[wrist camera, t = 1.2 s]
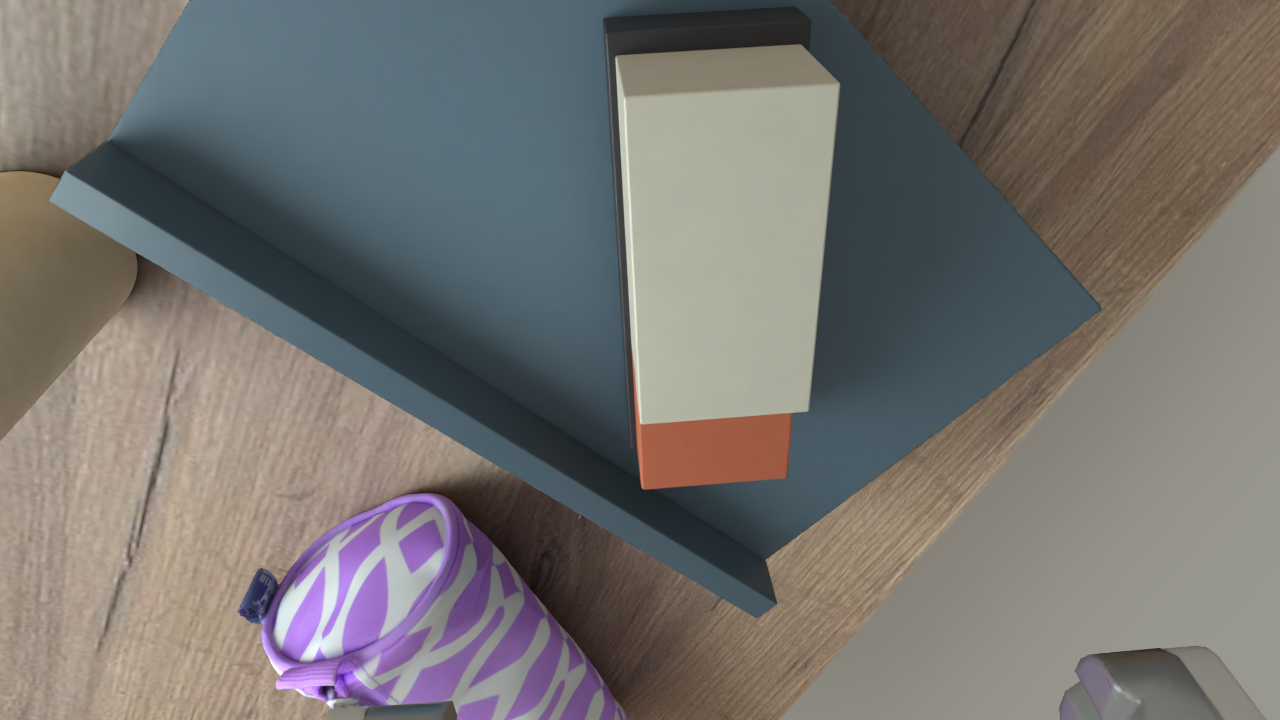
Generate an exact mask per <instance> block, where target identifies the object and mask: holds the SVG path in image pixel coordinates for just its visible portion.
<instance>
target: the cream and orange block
mask: <svg viewBox="0 0 1280 720" xmlns="http://www.w3.org/2000/svg"><path fill="white" fill-rule="evenodd" d="M810 35H811V19H809V18H808V17H807V16H806V15H805V14H804V13H803V12H801V11H800V10H799V9H798V8H797V7H778V8H761V9H744V10H727V11H710V12H693V13H676V14H659V15H643V16H626V17H609V18H604V19H603V36H604V52H605V68H606V83H607V99H608V115H609V131H610V147H611V163H612V179H613V195H614V210H615V226H616V242H617V258H618V274H619V290H620V306H621V322H622V337H623V353H624V369H625V385H626V401H627V417H628V428H629V438H630V447H631V449H637V451H638V461H639V470H640V479H641V487H642V489H644V490H646V489H658V488H670V487H683V486H695V485H708V484H720V483H732V482H745V481H757V480H769V479H782V478H787V476H788V466H789V453H790V441H791V429H792V417H793V413H796V412H807V411H809V406H810V396H811V386H812V375H813V365H814V354H815V344H816V334H817V323H818V313H819V302H820V292H821V282H822V271H823V261H824V250H825V240H826V230H827V219H828V209H829V198H830V188H831V178H832V167H833V157H834V146H835V136H836V126H837V115H838V105H839V94H840V83H839V82H838V81H837V80H836V79H835V78H834V77H833V76H832V75H831V74H830V73H829V72H828V71H827V70H826V69H825V68H824V67H823V66H822V65H821V64H820V63H819V62H818V61H817V60H816V59H815V58H814V57H813V56H812V55H811V54H810V53H809V49H810Z"/></svg>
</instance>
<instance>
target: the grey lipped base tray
mask: <svg viewBox="0 0 1280 720" xmlns="http://www.w3.org/2000/svg"><path fill="white" fill-rule="evenodd" d="M778 7H797V8H798V9H799V10H800V11H801V12H803V13H804V14H805V15H806V16H807V17H808V18H809V19H811V35H810V49H809V53H810V54H811V55H812V56H813V57H814V58H815V59H816V60H817V61H818V62H819V63H820V64H821V65H822V66H823V67H824V68H825V69H826V70H827V71H828V72H829V73H830V74H831V75H832V76H833V77H834V78H835V79H836V80H837V81H838V82H839V83H840V94H839V105H838V115H837V126H836V136H835V146H834V157H833V167H832V178H831V188H830V198H829V209H828V219H827V230H826V240H825V250H824V261H823V271H822V282H821V292H820V302H819V313H818V323H817V334H816V344H815V354H814V365H813V375H812V386H811V396H810V406H809V411H807V412H796V413H793V417H792V429H791V441H790V453H789V466H788V476H787V478H782V479H769V480H757V481H745V482H732V483H720V484H708V485H695V486H683V487H670V488H658V489H646V490H644V489H642V487H641V479H640V470H639V461H638V451H637V449H631V447H630V438H629V428H628V417H627V401H626V385H625V369H624V353H623V337H622V322H621V306H620V290H619V274H618V258H617V242H616V226H615V210H614V195H613V179H612V163H611V147H610V131H609V115H608V99H607V83H606V68H605V52H604V36H603V19H604V18H609V17H626V16H643V15H659V14H676V13H693V12H710V11H727V10H744V9H761V8H778ZM49 201H50V202H51V203H53V204H55V205H56V206H58V207H60V208H61V209H63V210H65V211H66V212H68V213H70V214H72V215H73V216H75V217H77V218H78V219H80V220H82V221H83V222H85V223H87V224H89V225H90V226H92V227H94V228H95V229H97V230H99V231H100V232H102V233H104V234H106V235H107V236H109V237H111V238H112V239H114V240H116V241H117V242H119V243H121V244H122V245H124V246H126V247H128V248H129V249H131V250H133V251H134V252H136V253H138V254H139V255H141V256H143V257H145V258H146V259H148V260H150V261H151V262H153V263H155V264H156V265H158V266H160V267H161V268H163V269H165V270H167V271H168V272H170V273H172V274H173V275H175V276H177V277H178V278H180V279H182V280H184V281H185V282H187V283H189V284H190V285H192V286H194V287H195V288H197V289H199V290H201V291H202V292H204V293H206V294H207V295H209V296H211V297H212V298H214V299H216V300H217V301H219V302H221V303H223V304H224V305H226V306H228V307H229V308H231V309H233V310H234V311H236V312H238V313H240V314H241V315H243V316H245V317H246V318H248V319H250V320H251V321H253V322H255V323H257V324H258V325H260V326H262V327H263V328H265V329H267V330H268V331H270V332H272V333H273V334H275V335H277V336H279V337H280V338H282V339H284V340H285V341H287V342H289V343H290V344H292V345H294V346H296V347H297V348H299V349H301V350H302V351H304V352H306V353H307V354H309V355H311V356H312V357H314V358H316V359H318V360H319V361H321V362H323V363H324V364H326V365H328V366H329V367H331V368H333V369H335V370H336V371H338V372H340V373H341V374H343V375H345V376H346V377H348V378H350V379H352V380H353V381H355V382H357V383H358V384H360V385H362V386H363V387H365V388H367V389H368V390H370V391H372V392H374V393H375V394H377V395H379V396H380V397H382V398H384V399H385V400H387V401H389V402H391V403H392V404H394V405H396V406H397V407H399V408H401V409H402V410H404V411H406V412H407V413H409V414H411V415H413V416H414V417H416V418H418V419H419V420H421V421H423V422H424V423H426V424H428V425H430V426H431V427H433V428H435V429H436V430H438V431H440V432H441V433H443V434H445V435H447V436H448V437H450V438H452V439H453V440H455V441H457V442H458V443H460V444H462V445H463V446H465V447H467V448H469V449H470V450H472V451H474V452H475V453H477V454H479V455H480V456H482V457H484V458H486V459H487V460H489V461H491V462H492V463H494V464H496V465H497V466H499V467H501V468H502V469H504V470H506V471H508V472H509V473H511V474H513V475H514V476H516V477H518V478H519V479H521V480H523V481H525V482H526V483H528V484H530V485H531V486H533V487H535V488H536V489H538V490H540V491H542V492H543V493H545V494H547V495H548V496H550V497H552V498H553V499H555V500H557V501H558V502H560V503H562V504H564V505H565V506H567V507H569V508H570V509H572V510H574V511H575V512H577V513H579V514H581V515H582V516H584V517H586V518H587V519H589V520H591V521H592V522H594V523H596V524H597V525H599V526H601V527H603V528H604V529H606V530H608V531H609V532H611V533H613V534H614V535H616V536H618V537H620V538H621V539H623V540H625V541H626V542H628V543H630V544H631V545H633V546H635V547H637V548H638V549H640V550H642V551H643V552H645V553H647V554H648V555H650V556H652V557H653V558H655V559H657V560H659V561H660V562H662V563H664V564H665V565H667V566H669V567H670V568H672V569H674V570H676V571H677V572H679V573H681V574H682V575H684V576H686V577H687V578H689V579H691V580H692V581H694V582H696V583H698V584H699V585H701V586H703V587H704V588H706V589H708V590H709V591H711V592H713V593H715V594H716V595H718V596H720V597H721V598H723V599H725V600H726V601H728V602H730V603H732V604H733V605H735V606H737V607H738V608H740V609H742V610H743V611H745V612H747V613H748V614H750V615H752V616H754V617H755V618H758V617H760V616H761V615H763V614H764V613H765V612H767V611H768V610H770V609H771V608H772V607H774V606H775V605H777V601H776V597H775V593H774V590H773V586H772V582H771V578H770V574H769V571H768V567H767V563H766V561H765V560H766V559H767V558H769V557H770V556H771V555H773V554H774V553H776V552H777V551H778V550H780V549H781V548H782V547H784V546H785V545H786V544H788V543H789V542H790V541H792V540H793V539H794V538H796V537H797V536H798V535H800V534H801V533H802V532H804V531H805V530H806V529H808V528H809V527H810V526H812V525H813V524H814V523H816V522H817V521H818V520H820V519H821V518H823V517H824V516H825V515H827V514H828V513H829V512H831V511H832V510H833V509H835V508H836V507H837V506H839V505H840V504H841V503H843V502H844V501H845V500H847V499H848V498H849V497H851V496H852V495H853V494H855V493H856V492H857V491H859V490H860V489H861V488H863V487H864V486H866V485H867V484H868V483H870V482H871V481H872V480H874V479H875V478H876V477H878V476H879V475H880V474H882V473H883V472H884V471H886V470H887V469H888V468H890V467H891V466H892V465H894V464H895V463H896V462H898V461H899V460H900V459H902V458H903V457H904V456H906V455H907V454H908V453H910V452H911V451H913V450H914V449H915V448H917V447H918V446H919V445H921V444H922V443H923V442H925V441H926V440H927V439H929V438H930V437H931V436H933V435H934V434H935V433H937V432H938V431H939V430H941V429H942V428H943V427H945V426H946V425H947V424H949V423H950V422H951V421H953V420H954V419H956V418H957V417H958V416H960V415H961V414H962V413H964V412H965V411H966V410H968V409H969V408H970V407H972V406H973V405H974V404H976V403H977V402H978V401H980V400H981V399H982V398H984V397H985V396H986V395H988V394H989V393H990V392H992V391H993V390H994V389H996V388H997V387H999V386H1000V385H1001V384H1003V383H1004V382H1005V381H1007V380H1008V379H1009V378H1011V377H1012V376H1013V375H1015V374H1016V373H1017V372H1019V371H1020V370H1021V369H1023V368H1024V367H1025V366H1027V365H1028V364H1029V363H1031V362H1032V361H1033V360H1035V359H1036V358H1037V357H1039V356H1040V355H1041V354H1043V353H1044V352H1046V351H1047V350H1048V349H1050V348H1051V347H1052V346H1054V345H1055V344H1056V343H1058V342H1059V341H1060V340H1062V339H1063V338H1064V337H1066V336H1067V335H1068V334H1070V333H1071V332H1072V331H1074V330H1075V329H1076V328H1078V327H1079V326H1080V325H1082V324H1083V323H1084V322H1086V321H1087V320H1089V319H1090V318H1091V317H1093V316H1094V315H1095V314H1097V313H1098V312H1099V311H1101V306H1100V305H1099V304H1098V303H1097V302H1096V300H1095V299H1094V298H1093V297H1092V296H1091V295H1090V294H1089V293H1088V291H1087V290H1086V289H1085V288H1084V287H1083V286H1082V285H1081V283H1080V282H1079V281H1078V280H1077V279H1076V278H1075V277H1074V276H1073V274H1072V273H1071V272H1070V271H1069V270H1068V269H1067V268H1066V266H1065V265H1064V264H1063V263H1062V262H1061V261H1060V260H1059V258H1058V257H1057V256H1056V255H1055V254H1054V253H1053V252H1052V251H1051V249H1050V248H1049V247H1048V246H1047V245H1046V244H1045V243H1044V241H1043V240H1042V239H1041V238H1040V237H1039V236H1038V235H1037V234H1036V232H1035V231H1034V230H1033V229H1032V228H1031V227H1030V226H1029V224H1028V223H1027V222H1026V221H1025V220H1024V219H1023V218H1022V217H1021V215H1020V214H1019V213H1018V212H1017V211H1016V210H1015V209H1014V207H1013V206H1012V205H1011V204H1010V203H1009V202H1008V201H1007V200H1006V198H1005V197H1004V196H1003V195H1002V194H1001V193H1000V192H999V190H998V189H997V188H996V187H995V186H994V185H993V184H992V183H991V181H990V180H989V179H988V178H987V177H986V176H985V175H984V173H983V172H982V171H981V170H980V169H979V168H978V167H977V166H976V164H975V163H974V162H973V161H972V160H971V159H970V158H969V156H968V155H967V154H966V153H965V152H964V151H963V150H962V149H961V147H960V146H959V145H958V144H957V143H956V142H955V141H954V139H953V138H952V137H951V136H950V135H949V134H948V133H947V131H946V130H945V129H944V128H943V127H942V126H941V125H940V124H939V122H938V121H937V120H936V119H935V118H934V117H933V116H932V114H931V113H930V112H929V111H928V110H927V109H926V108H925V107H924V105H923V104H922V103H921V102H920V101H919V100H918V99H917V97H916V96H915V95H914V94H913V93H912V92H911V91H910V90H909V88H908V87H907V86H906V85H905V84H904V83H903V82H902V80H901V79H900V78H899V77H898V76H897V75H896V74H895V73H894V71H893V70H892V69H891V68H890V67H889V66H888V65H887V63H886V62H885V61H884V60H883V59H882V58H881V57H880V56H879V54H878V53H877V52H876V51H875V50H874V49H873V48H872V46H871V45H870V44H869V43H868V42H867V41H866V40H865V39H864V37H863V36H862V35H861V34H860V33H859V32H858V31H857V29H856V28H855V27H854V26H853V25H852V24H851V23H850V21H849V20H848V19H847V18H846V17H845V16H844V15H843V14H842V12H841V11H840V10H839V9H838V8H837V7H836V6H835V4H834V3H833V2H832V1H831V0H190V1H189V2H188V4H187V6H186V7H185V9H184V11H183V12H182V14H181V16H180V18H179V19H178V21H177V23H176V24H175V26H174V28H173V30H172V31H171V33H170V35H169V36H168V38H167V40H166V41H165V43H164V45H163V47H162V48H161V50H160V52H159V53H158V55H157V57H156V59H155V60H154V62H153V64H152V65H151V67H150V69H149V70H148V72H147V74H146V76H145V77H144V79H143V81H142V82H141V84H140V86H139V88H138V89H137V91H136V93H135V94H134V96H133V98H132V99H131V101H130V103H129V105H128V106H127V108H126V110H125V111H124V113H123V115H122V116H121V118H120V120H119V122H118V123H117V125H116V127H115V128H114V130H113V132H112V134H111V135H110V137H109V139H108V140H107V141H105V142H104V143H102V144H101V145H100V146H98V147H97V148H95V149H94V150H93V151H91V152H90V153H88V154H87V155H86V156H84V157H83V158H81V159H80V160H79V161H77V162H76V163H74V164H73V165H72V166H70V167H69V168H67V169H66V170H65V171H64V173H63V175H62V177H61V178H60V180H59V182H58V184H57V185H56V187H55V189H54V191H53V192H52V194H51V196H50V198H49Z"/></svg>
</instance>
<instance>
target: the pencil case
mask: <svg viewBox="0 0 1280 720" xmlns="http://www.w3.org/2000/svg"><path fill="white" fill-rule="evenodd" d="M238 613H239V614H240V616H244V617H245V618H246V620H248V621H250V622H251V623H255V624H263V628H262V642H263V646H264V649H265V651H266V653H267V655H268V657H269V658H270V661H271V664H272V665H273V667H274V668H275V670H276V671H277V672H278V673H279V674H280V675H281V676H280V677H279V679H278V680H277V682H276V689H277V690H282V689H296V690H297V691H299V692H300V693H301V694H302V695H304V696H307V697H313V698H318V699H320V700H323V701H326V702H327V704H328V705H329V706H330V708H331V709H334V708H346V707H358V706H370V705H372V706H383V705H397V704H412V703H426V702H440V701H453V704H454V707H455V710H456V713H457V720H630V719H629V717H628V715H627V713H626V712H625V710H624V709H623V708H622V706H621V705H620V704H619V703H618V702H617V701H616V700H615V699H614V698H613V696H612V694H611V692H610V690H609V689H608V687H607V685H606V684H605V682H604V681H603V679H602V678H601V676H600V675H599V673H598V672H597V670H596V669H595V668H594V666H593V665H592V663H591V662H590V661H589V659H588V658H587V657H586V655H585V654H584V653H583V651H582V650H581V649H580V648H579V647H578V645H577V644H576V643H575V642H574V640H573V639H572V638H571V636H570V635H569V634H568V633H567V632H566V631H565V630H564V629H563V628H562V627H561V626H560V624H559V623H558V622H557V621H556V620H555V618H554V617H553V616H552V615H551V613H550V612H549V611H548V610H547V609H546V607H545V606H544V605H543V604H542V603H541V601H540V600H539V599H538V598H537V597H536V596H535V595H534V593H533V592H532V591H531V590H530V589H529V587H528V586H527V585H526V583H525V582H524V581H523V579H522V578H521V577H520V575H519V574H518V573H517V571H516V570H515V569H514V568H513V567H512V566H511V565H510V563H509V562H508V560H507V559H506V558H505V556H504V555H503V554H502V553H501V551H500V550H499V549H498V548H497V547H496V546H495V545H494V544H493V543H492V542H491V541H490V540H489V539H488V537H487V536H486V535H485V534H484V533H483V532H482V531H480V530H479V529H478V528H477V527H476V526H475V525H473V524H472V523H471V522H470V521H468V520H467V519H466V518H465V517H464V515H463V514H462V513H461V511H460V510H459V509H458V507H457V506H456V505H455V504H454V503H453V502H452V501H451V500H450V499H448V498H446V497H444V496H442V495H439V494H433V493H420V494H408V495H404V496H400V497H396V498H394V499H391V500H389V501H388V502H386V503H384V504H382V505H380V506H378V507H376V508H374V509H371V510H369V511H366V512H363V513H361V514H358V515H356V516H353V517H351V518H349V519H347V520H345V521H343V522H342V523H340V524H338V525H336V526H335V527H333V528H332V529H330V530H329V531H327V532H326V533H325V534H323V535H322V536H321V537H320V538H319V539H317V540H316V541H315V542H314V543H313V544H312V545H311V546H310V547H309V548H308V549H307V550H306V551H305V552H304V553H303V554H302V555H301V557H300V558H299V559H298V560H297V561H296V563H295V564H294V565H293V566H292V567H291V568H290V570H289V571H288V573H287V574H286V576H285V577H284V579H283V581H282V582H281V583H280V584H277V581H276V578H275V577H274V576H273V575H272V574H271V573H270V572H269V571H268V570H265V569H262V568H261V569H258V570H257V572H256V574H255V576H254V578H253V580H252V582H251V585H250V587H249V589H248V591H247V593H246V595H245V597H244V599H243V601H242V603H241V605H240V608H239V610H238Z"/></svg>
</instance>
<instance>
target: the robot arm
mask: <svg viewBox="0 0 1280 720" xmlns="http://www.w3.org/2000/svg"><path fill="white" fill-rule="evenodd" d="M1075 672H1076V674H1077V675H1078V677H1079V679H1080V682H1078V683H1077V684H1075V685H1074V686H1072V687H1071V688H1070V689H1068V690H1067V691H1065V694H1064V696H1063V699H1062V701H1061V704H1060V707H1059V710H1060V720H1266V718H1265V717H1264V716H1263V715H1262V713H1261V712H1260V710H1259V709H1258V708H1257V706H1256V705H1255V704H1254V703H1253V701H1252V700H1251V699H1250V697H1249V696H1248V695H1247V693H1246V692H1245V691H1244V689H1243V688H1242V687H1241V685H1239V683H1238V682H1237V680H1236V679H1235V678H1234V676H1233V675H1232V674H1231V672H1230V671H1229V670H1228V668H1227V667H1226V666H1225V664H1224V663H1223V662H1222V660H1221V659H1220V658H1219V657H1218V656H1217V655H1216V654H1215V653H1214V652H1212V651H1211V650H1209V649H1208V648H1206V647H1200V646H1190V647H1178V648H1165V649H1161V648H1155V649H1145V650H1133V651H1122V652H1111V653H1100V654H1090V655H1088V656H1086V657H1084V658H1081V659H1080V662H1079V663H1078V665H1077V667H1076V669H1075ZM323 720H457V713H456V710H455V707H454V704H453V701H440V702H426V703H412V704H397V705H383V706H372V705H370V706H358V707H346V708H334V709H329V710H328V712H327V714H326V716H325V718H324V719H323Z"/></svg>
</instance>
